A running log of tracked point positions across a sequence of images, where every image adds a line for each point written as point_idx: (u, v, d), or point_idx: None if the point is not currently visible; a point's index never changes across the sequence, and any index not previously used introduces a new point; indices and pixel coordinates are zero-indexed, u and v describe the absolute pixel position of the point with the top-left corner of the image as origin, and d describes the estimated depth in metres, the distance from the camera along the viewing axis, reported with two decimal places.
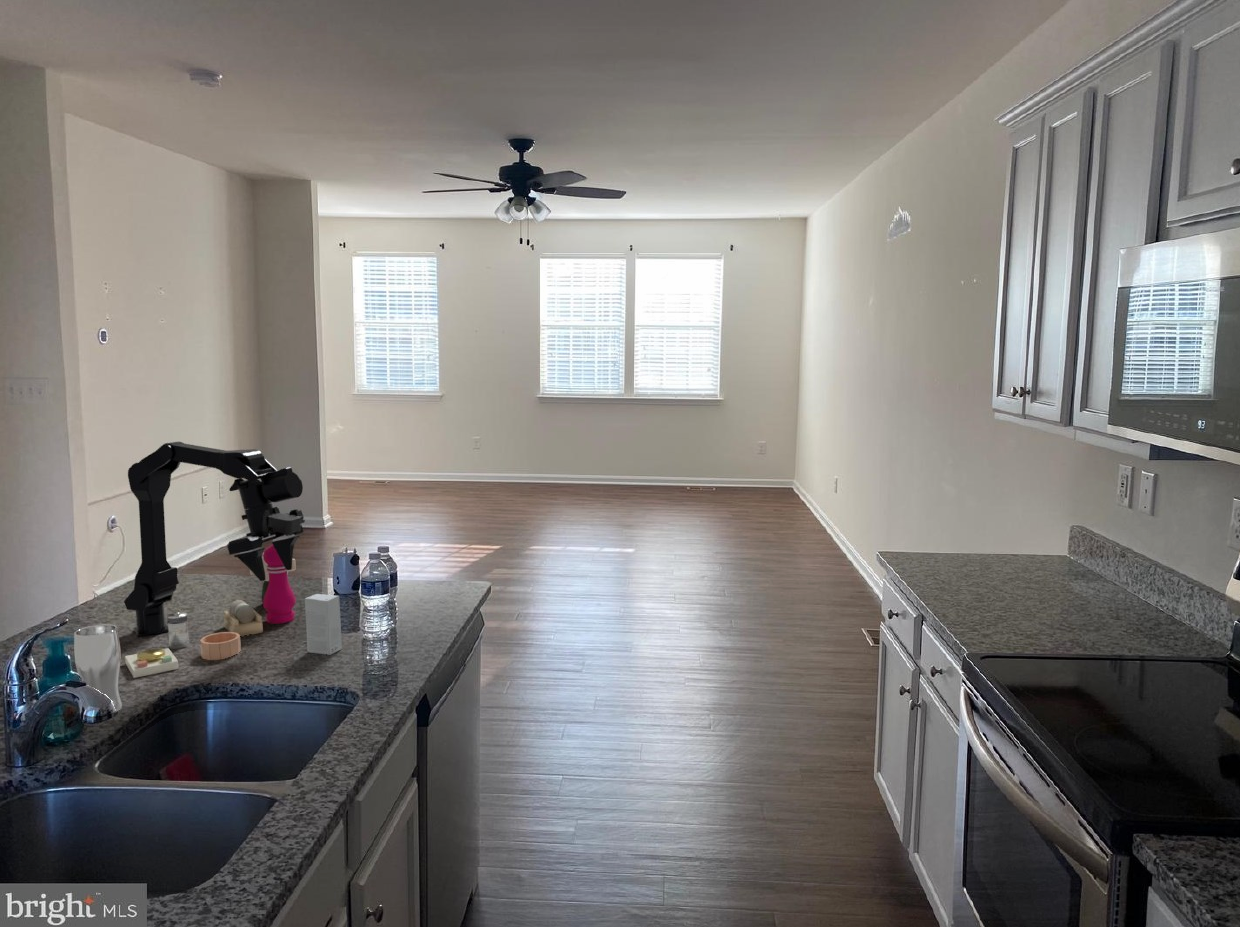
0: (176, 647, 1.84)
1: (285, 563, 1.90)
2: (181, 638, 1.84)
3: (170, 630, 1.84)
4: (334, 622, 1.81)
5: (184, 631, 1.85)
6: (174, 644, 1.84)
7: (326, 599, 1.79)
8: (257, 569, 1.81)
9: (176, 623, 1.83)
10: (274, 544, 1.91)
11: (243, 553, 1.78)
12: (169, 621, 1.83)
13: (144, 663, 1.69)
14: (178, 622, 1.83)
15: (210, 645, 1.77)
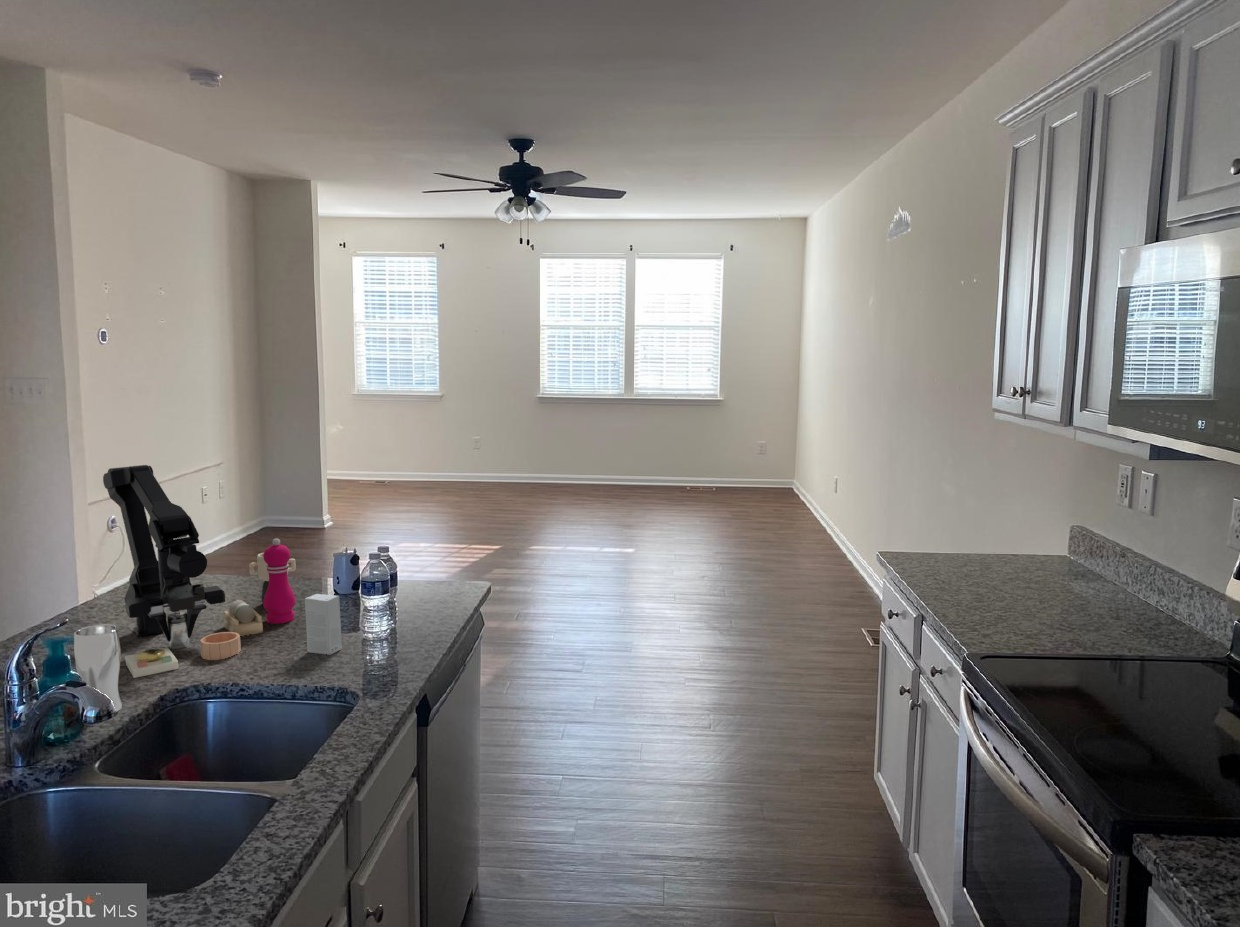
0: (176, 647, 1.84)
1: None
2: (181, 638, 1.84)
3: (170, 630, 1.84)
4: (334, 622, 1.81)
5: (184, 631, 1.85)
6: (174, 644, 1.84)
7: (326, 599, 1.79)
8: (162, 630, 1.83)
9: (176, 623, 1.83)
10: None
11: None
12: (169, 621, 1.83)
13: (144, 663, 1.69)
14: (178, 622, 1.83)
15: (210, 645, 1.77)
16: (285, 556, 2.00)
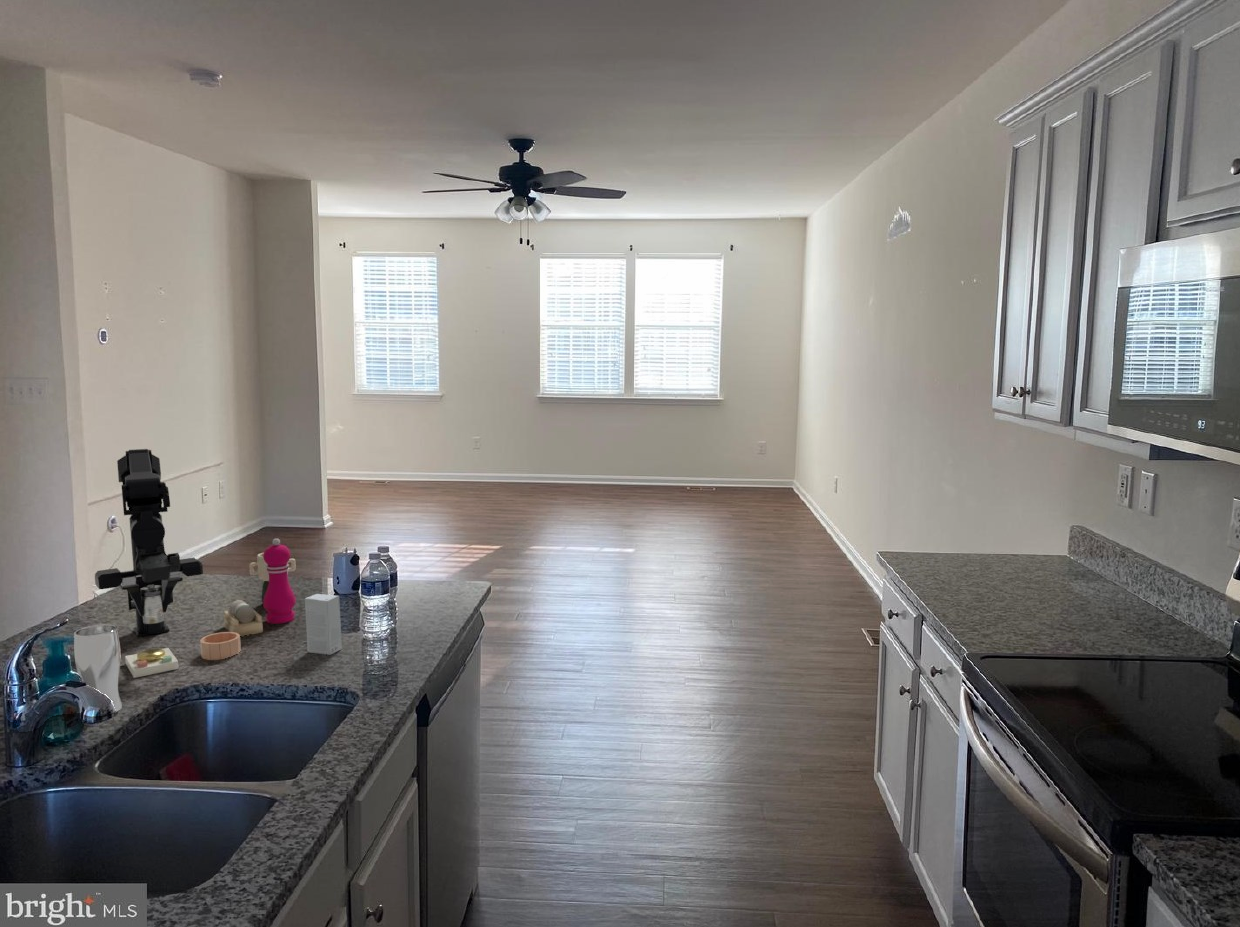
0: (150, 622, 1.72)
1: None
2: (156, 612, 1.72)
3: (144, 604, 1.72)
4: (334, 622, 1.81)
5: (159, 604, 1.73)
6: (148, 619, 1.72)
7: (326, 599, 1.79)
8: (135, 603, 1.71)
9: (149, 596, 1.71)
10: (162, 579, 1.76)
11: (119, 585, 1.70)
12: (142, 594, 1.71)
13: (144, 663, 1.69)
14: (152, 595, 1.71)
15: (210, 645, 1.77)
16: (285, 556, 2.00)
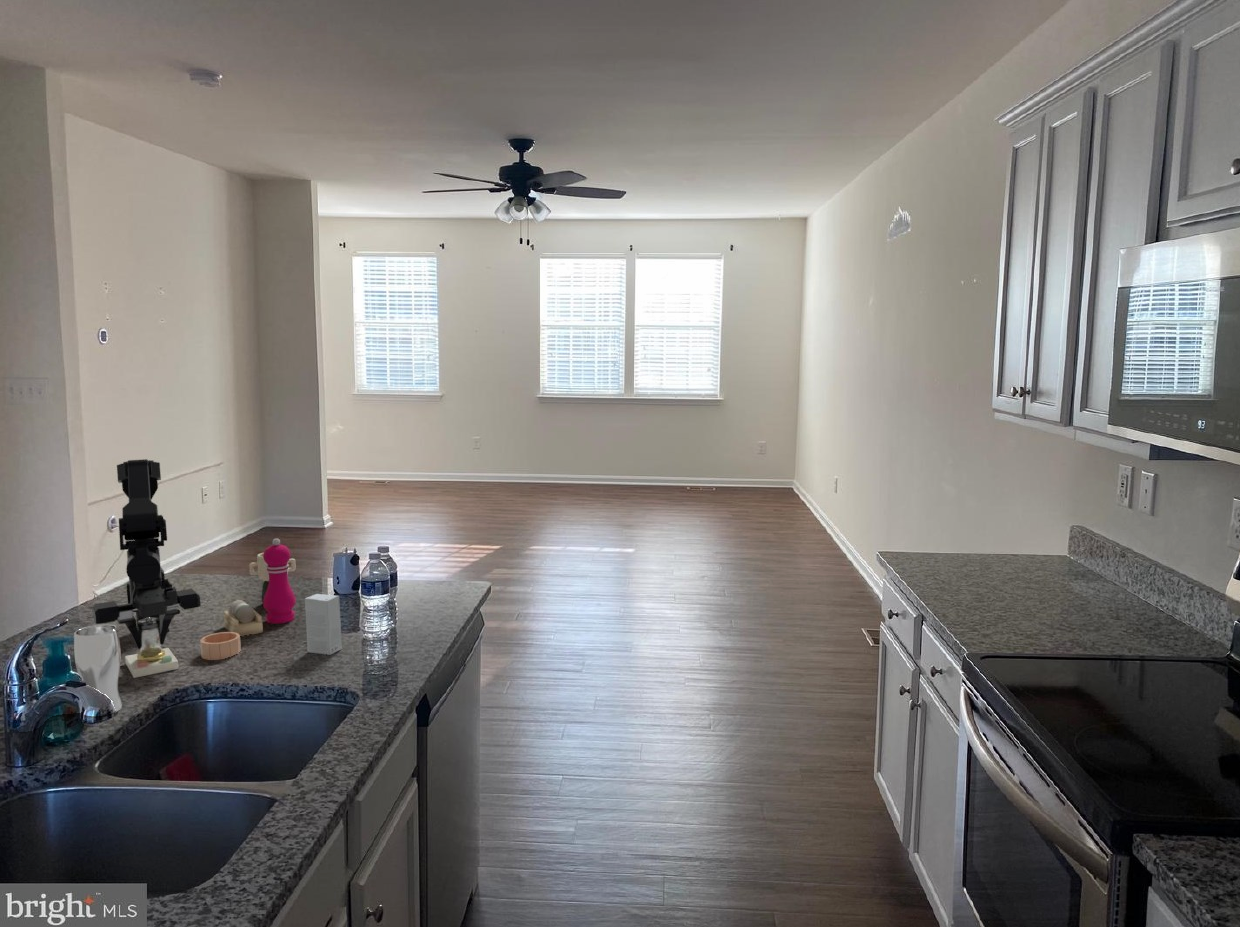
0: (147, 655, 1.71)
1: None
2: (153, 645, 1.72)
3: (141, 637, 1.71)
4: (334, 622, 1.81)
5: (156, 637, 1.72)
6: (145, 651, 1.71)
7: (326, 599, 1.79)
8: (132, 636, 1.71)
9: (147, 629, 1.71)
10: None
11: (117, 618, 1.69)
12: (140, 627, 1.71)
13: (144, 663, 1.69)
14: (149, 628, 1.71)
15: (210, 645, 1.77)
16: (285, 556, 2.00)
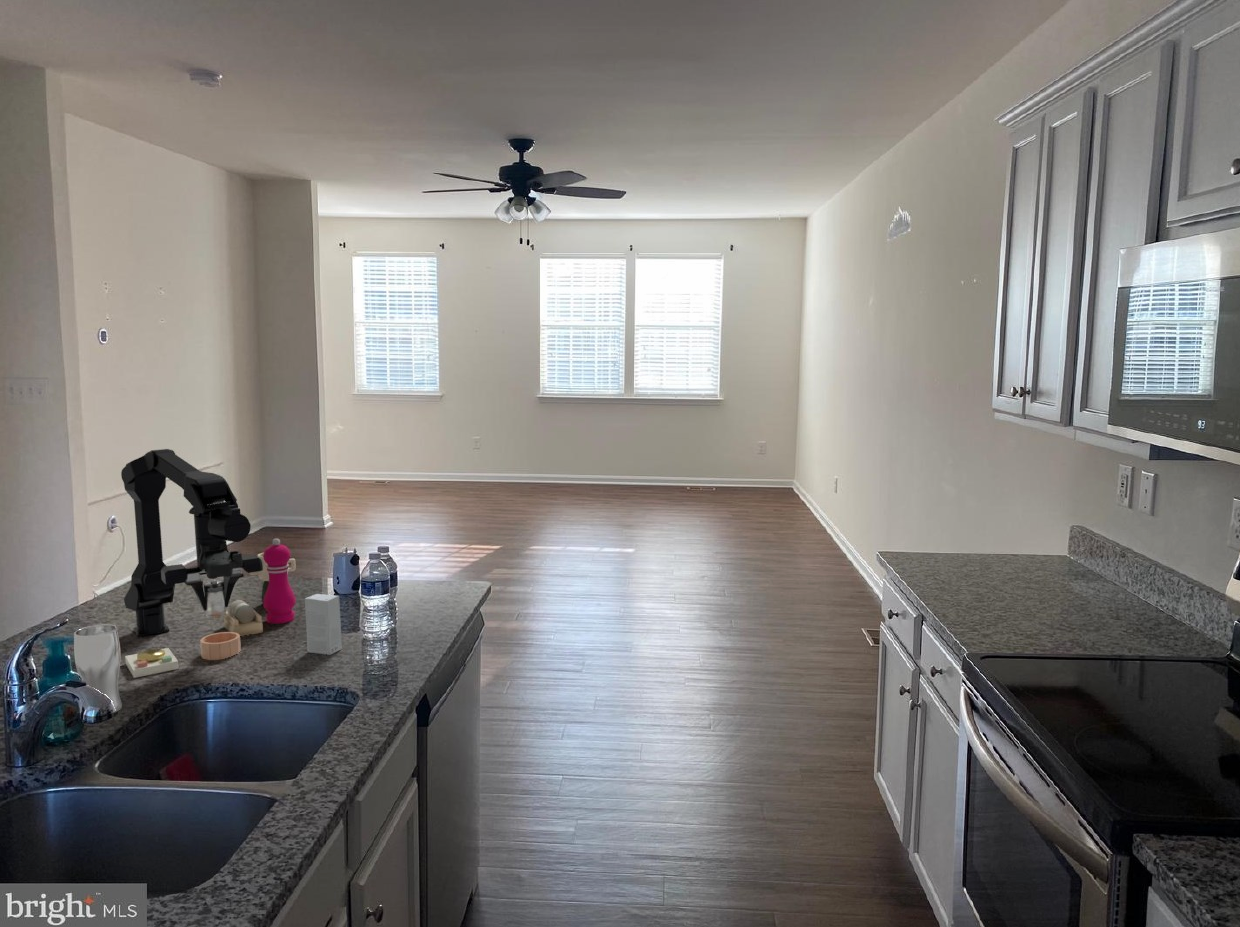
0: (213, 616, 1.77)
1: None
2: (218, 607, 1.78)
3: (207, 599, 1.77)
4: (334, 622, 1.81)
5: (221, 600, 1.78)
6: (211, 613, 1.77)
7: (326, 599, 1.79)
8: (198, 598, 1.77)
9: (212, 591, 1.77)
10: None
11: (184, 580, 1.75)
12: (206, 589, 1.77)
13: (144, 663, 1.69)
14: (215, 590, 1.77)
15: (210, 645, 1.77)
16: (286, 556, 2.00)
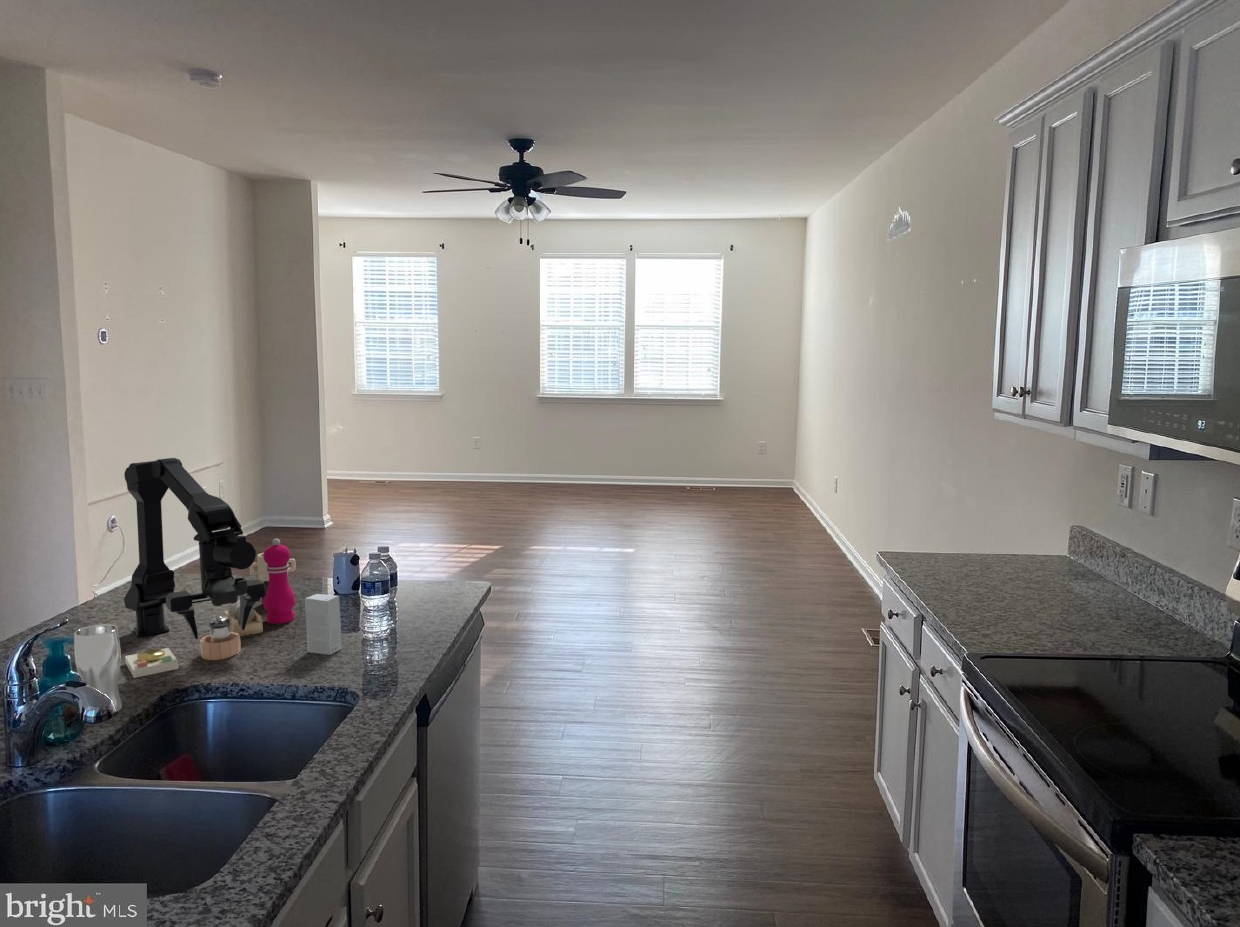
0: None
1: (241, 622, 1.83)
2: None
3: (212, 635, 1.78)
4: (334, 622, 1.81)
5: (226, 635, 1.80)
6: None
7: (326, 599, 1.79)
8: (190, 627, 1.76)
9: (218, 627, 1.78)
10: (240, 598, 1.84)
11: None
12: (211, 626, 1.78)
13: (144, 663, 1.69)
14: (220, 627, 1.78)
15: (210, 645, 1.77)
16: (285, 556, 2.00)
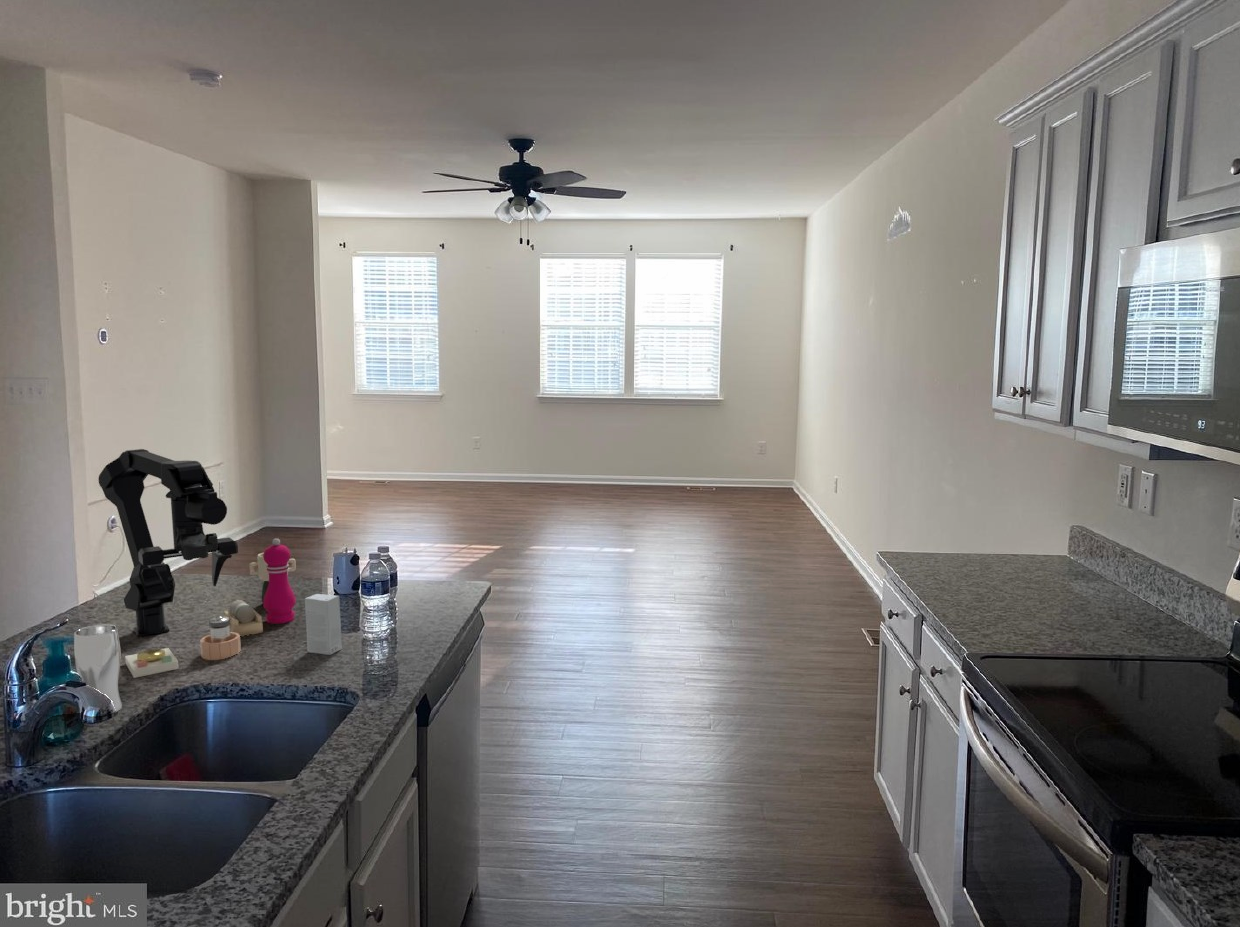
0: None
1: (212, 578, 1.88)
2: None
3: (212, 635, 1.79)
4: (334, 622, 1.81)
5: (226, 635, 1.80)
6: None
7: (326, 599, 1.79)
8: (162, 581, 1.81)
9: (218, 627, 1.78)
10: (212, 556, 1.89)
11: None
12: (211, 625, 1.78)
13: (144, 663, 1.69)
14: (220, 626, 1.78)
15: (210, 645, 1.77)
16: (285, 556, 2.00)
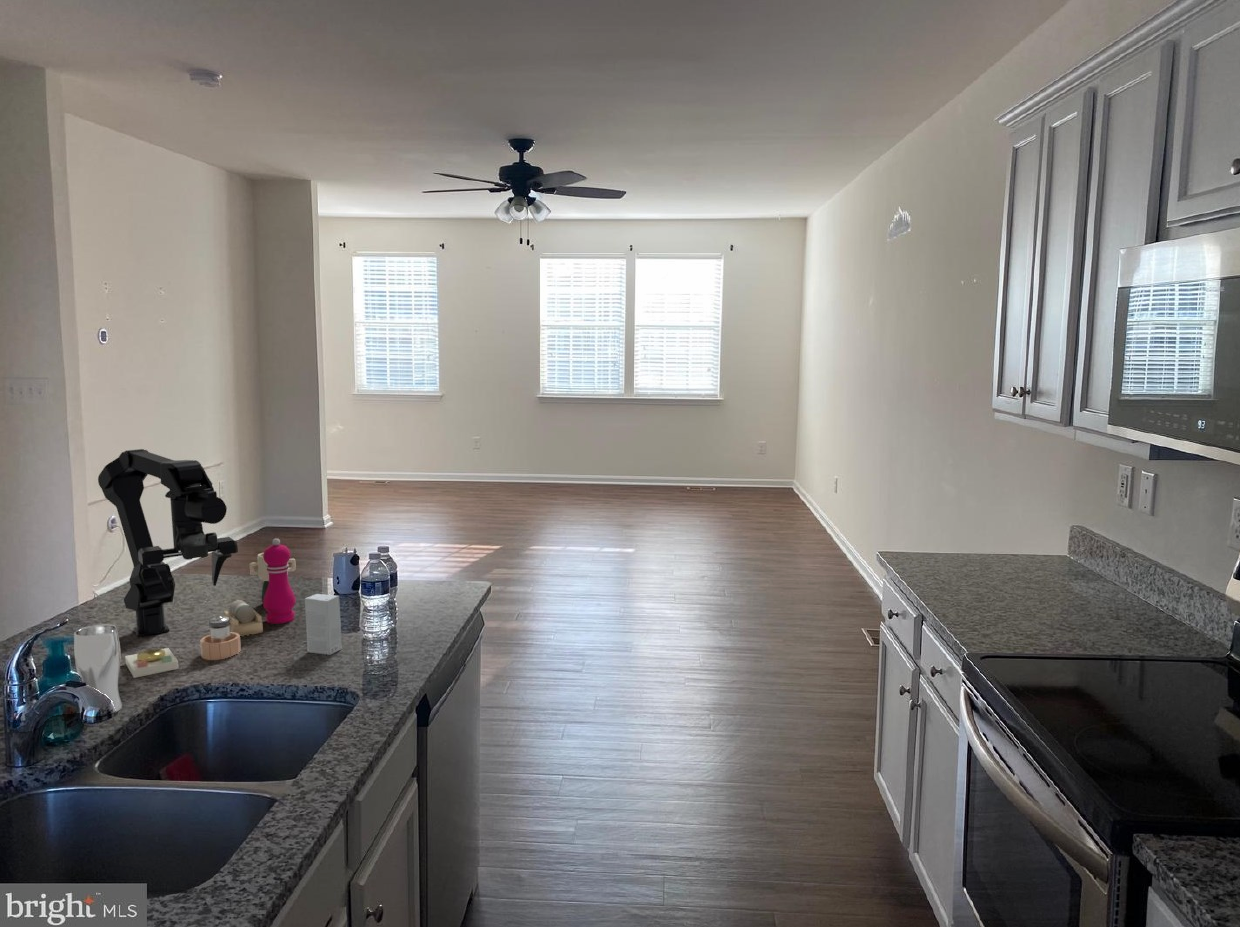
0: None
1: (212, 578, 1.88)
2: None
3: (212, 635, 1.79)
4: (334, 622, 1.81)
5: (226, 635, 1.80)
6: None
7: (326, 599, 1.79)
8: (162, 581, 1.81)
9: (218, 627, 1.78)
10: (212, 555, 1.89)
11: None
12: (211, 625, 1.78)
13: (144, 663, 1.69)
14: (220, 626, 1.78)
15: (210, 645, 1.77)
16: (285, 556, 2.00)
